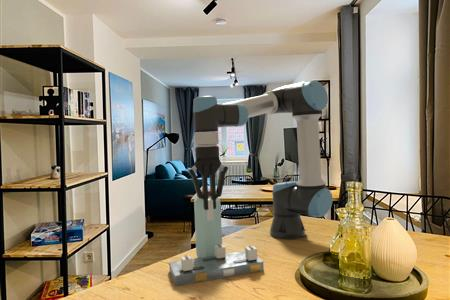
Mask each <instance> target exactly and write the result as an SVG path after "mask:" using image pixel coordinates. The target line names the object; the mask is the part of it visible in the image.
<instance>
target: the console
mask: <svg viewBox="0 0 450 300" xmlns="http://www.w3.org/2000/svg"><path fill="white" fill-rule="evenodd" d="M192 262H193V270H187V271H183V270H182V266H181V260H175V261H169V262H168V265H169V273H170V275H171V278H172V281H173V283H174V285H175V287H177V286H182V285H189V284H194V283H199V282H201V283H202V282H206V281H212V280H217V279H223V278H228V277H235V276H240V275H241V276H242V275H246V274H247V275H248V274H251V273H259V272H263V271H264V270H265V269H264V268H265V267H264V265H265V264H264V261H263V260H262V259H261V258H259V256H257V259H256V260H250V261H249V260H248V259H247V258H246V257H245V250H241V251H236V252H229V253H226V257H224V258H216V256H215V255H214V256H208V257H201V258H198V257H195V258H192Z"/></svg>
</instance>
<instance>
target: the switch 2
mask: <svg viewBox="0 0 450 300" xmlns="http://www.w3.org/2000/svg"><path fill="white" fill-rule="evenodd" d="M226 251H227V250H226V246H225V245H224V244H223V243H222V245H220V244H218V245H215V256H216V258H224V257H226V254H227V253H226Z"/></svg>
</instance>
